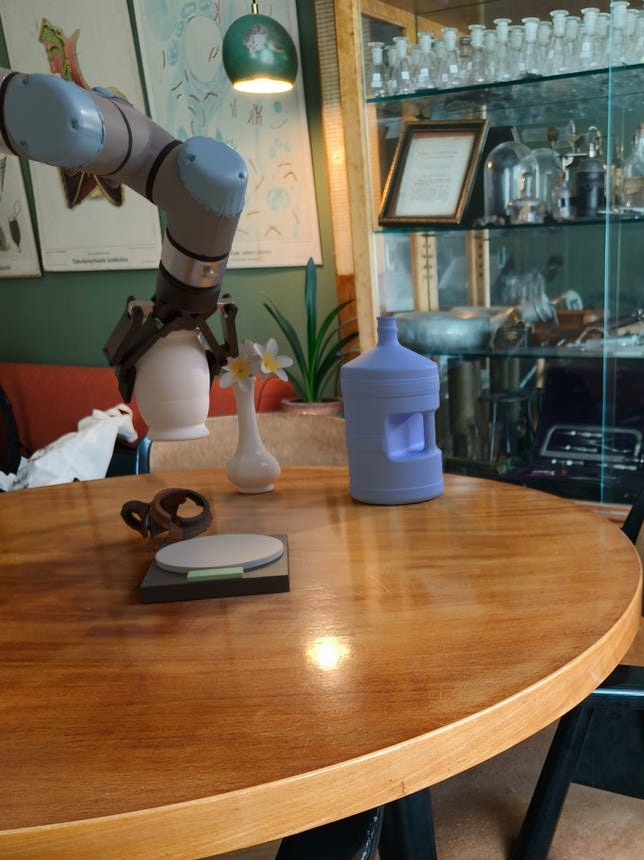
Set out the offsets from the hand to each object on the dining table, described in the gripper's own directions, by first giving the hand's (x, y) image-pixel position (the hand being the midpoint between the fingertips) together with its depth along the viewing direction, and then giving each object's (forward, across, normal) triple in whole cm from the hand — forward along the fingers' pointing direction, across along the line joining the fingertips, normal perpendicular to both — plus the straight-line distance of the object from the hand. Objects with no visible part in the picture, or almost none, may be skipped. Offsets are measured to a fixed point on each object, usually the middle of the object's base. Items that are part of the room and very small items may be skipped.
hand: (164, 392), depth 125 cm
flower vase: (+24, +18, -3) cm, 31 cm away
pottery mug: (+8, -5, -20) cm, 22 cm away
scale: (-6, -7, -33) cm, 35 cm away
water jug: (+9, +34, -18) cm, 40 cm away
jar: (+2, 0, -6) cm, 7 cm away
